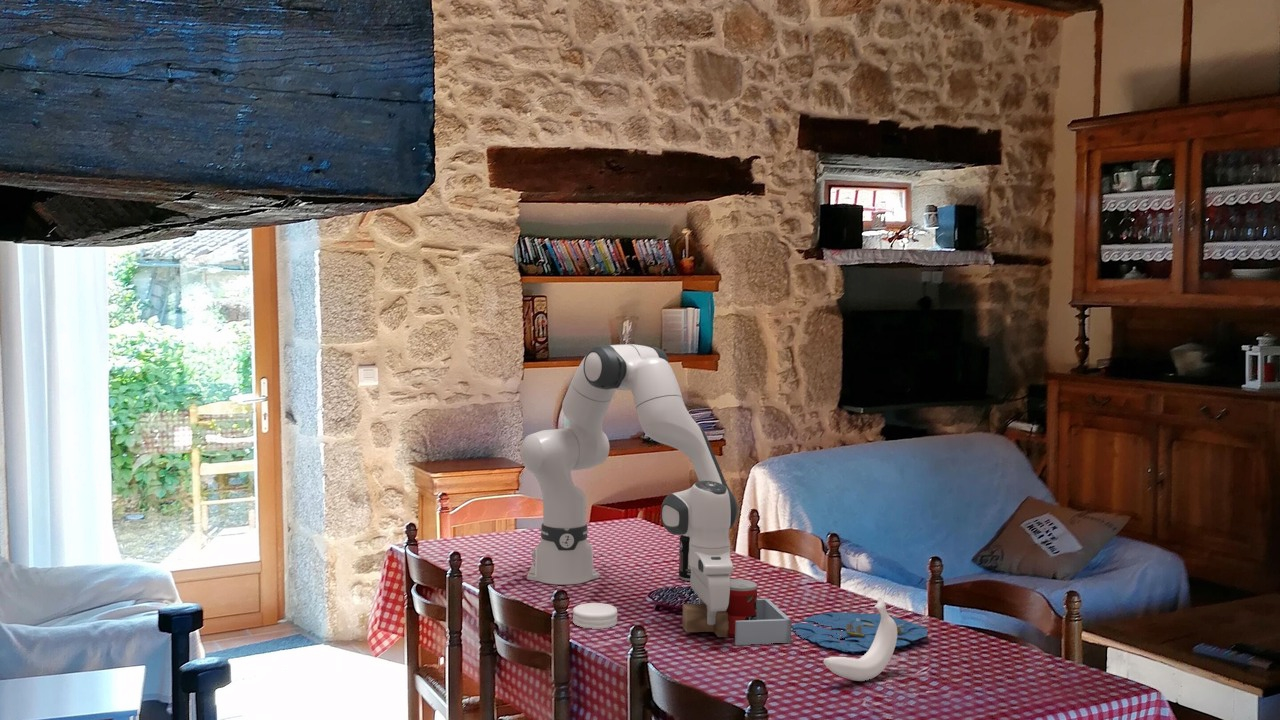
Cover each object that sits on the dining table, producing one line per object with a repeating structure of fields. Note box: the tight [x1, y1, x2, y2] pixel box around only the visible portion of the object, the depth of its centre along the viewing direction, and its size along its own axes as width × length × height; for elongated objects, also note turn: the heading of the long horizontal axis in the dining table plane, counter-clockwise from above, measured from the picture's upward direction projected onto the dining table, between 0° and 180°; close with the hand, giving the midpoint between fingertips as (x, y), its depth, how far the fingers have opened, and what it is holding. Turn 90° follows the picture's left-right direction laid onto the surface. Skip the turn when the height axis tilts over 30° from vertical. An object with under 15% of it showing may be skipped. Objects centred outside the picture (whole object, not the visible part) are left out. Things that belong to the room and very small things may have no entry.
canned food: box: [726, 578, 758, 639], centre depth 235 cm, size 8×8×11 cm
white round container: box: [572, 602, 618, 630], centre depth 240 cm, size 10×10×4 cm
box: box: [734, 598, 792, 646], centre depth 236 cm, size 17×12×5 cm
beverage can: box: [678, 535, 691, 582], centre depth 280 cm, size 7×7×12 cm
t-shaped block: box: [682, 603, 728, 638], centre depth 233 cm, size 8×12×5 cm, turn 10°
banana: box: [823, 596, 897, 682], centre depth 207 cm, size 5×19×15 cm, turn 132°
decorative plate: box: [791, 611, 929, 654], centre depth 236 cm, size 30×30×5 cm
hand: (707, 620), depth 234 cm, fingers closed on t-shaped block, 4 cm apart
